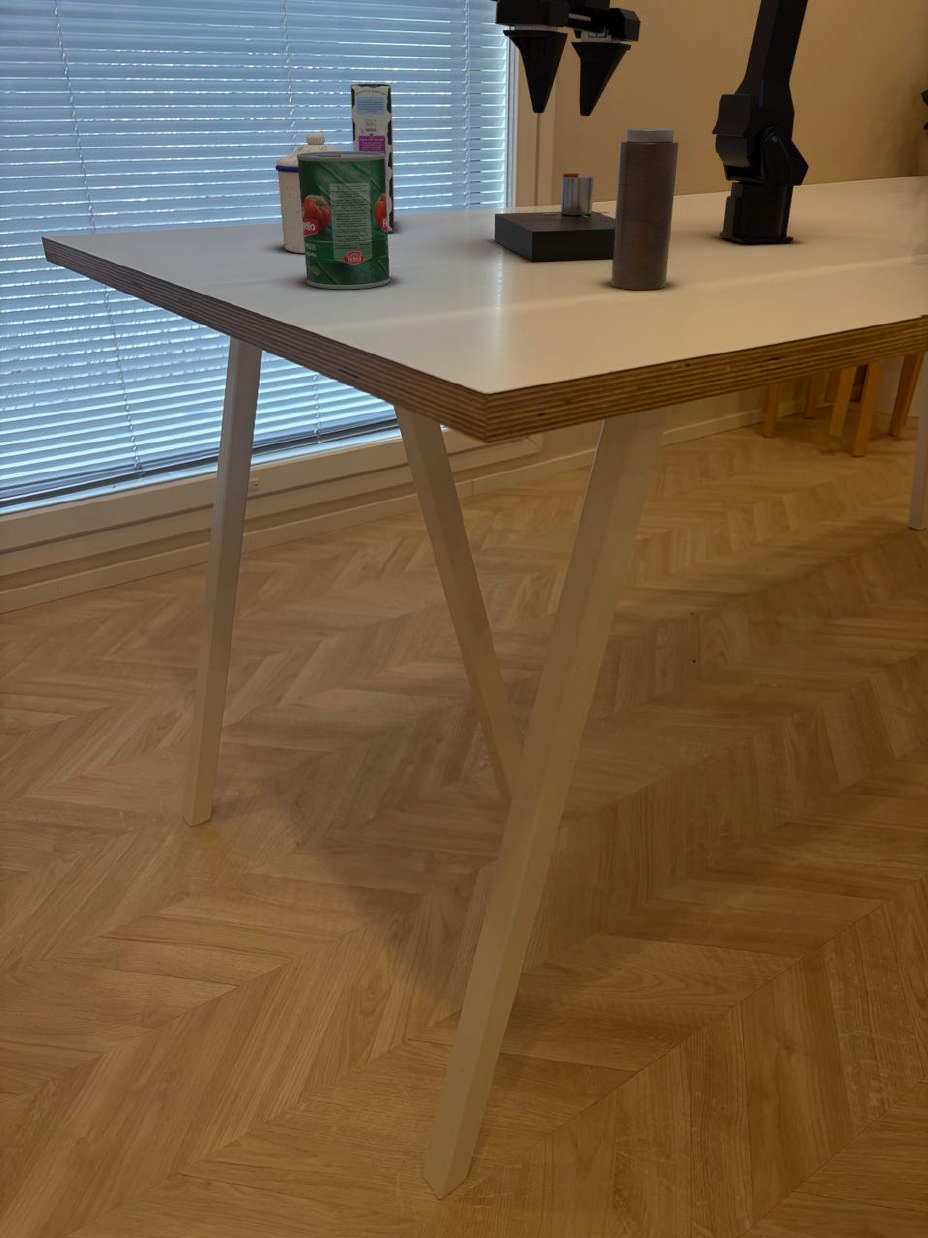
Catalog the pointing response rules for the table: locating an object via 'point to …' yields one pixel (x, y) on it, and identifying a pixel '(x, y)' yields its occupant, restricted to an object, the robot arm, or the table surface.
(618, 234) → the salt mill
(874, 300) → the table surface
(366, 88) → the candy bar box
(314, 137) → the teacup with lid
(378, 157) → the canned tomato
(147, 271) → the table surface
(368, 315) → the table surface
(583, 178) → the knob
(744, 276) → the table surface
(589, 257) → the stove
